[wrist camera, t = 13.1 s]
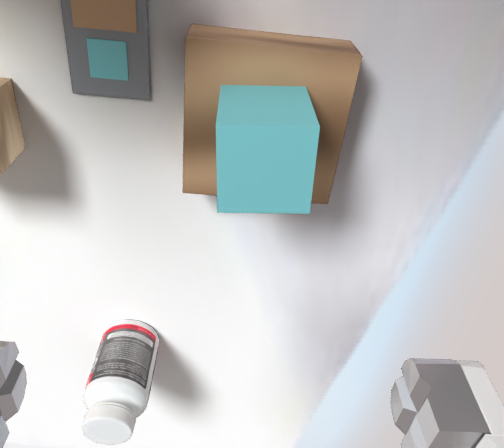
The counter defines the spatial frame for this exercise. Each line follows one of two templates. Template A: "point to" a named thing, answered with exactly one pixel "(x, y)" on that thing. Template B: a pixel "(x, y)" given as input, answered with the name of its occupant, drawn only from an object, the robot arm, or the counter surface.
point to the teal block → (265, 149)
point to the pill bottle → (119, 381)
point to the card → (107, 47)
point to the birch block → (9, 126)
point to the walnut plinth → (264, 74)
